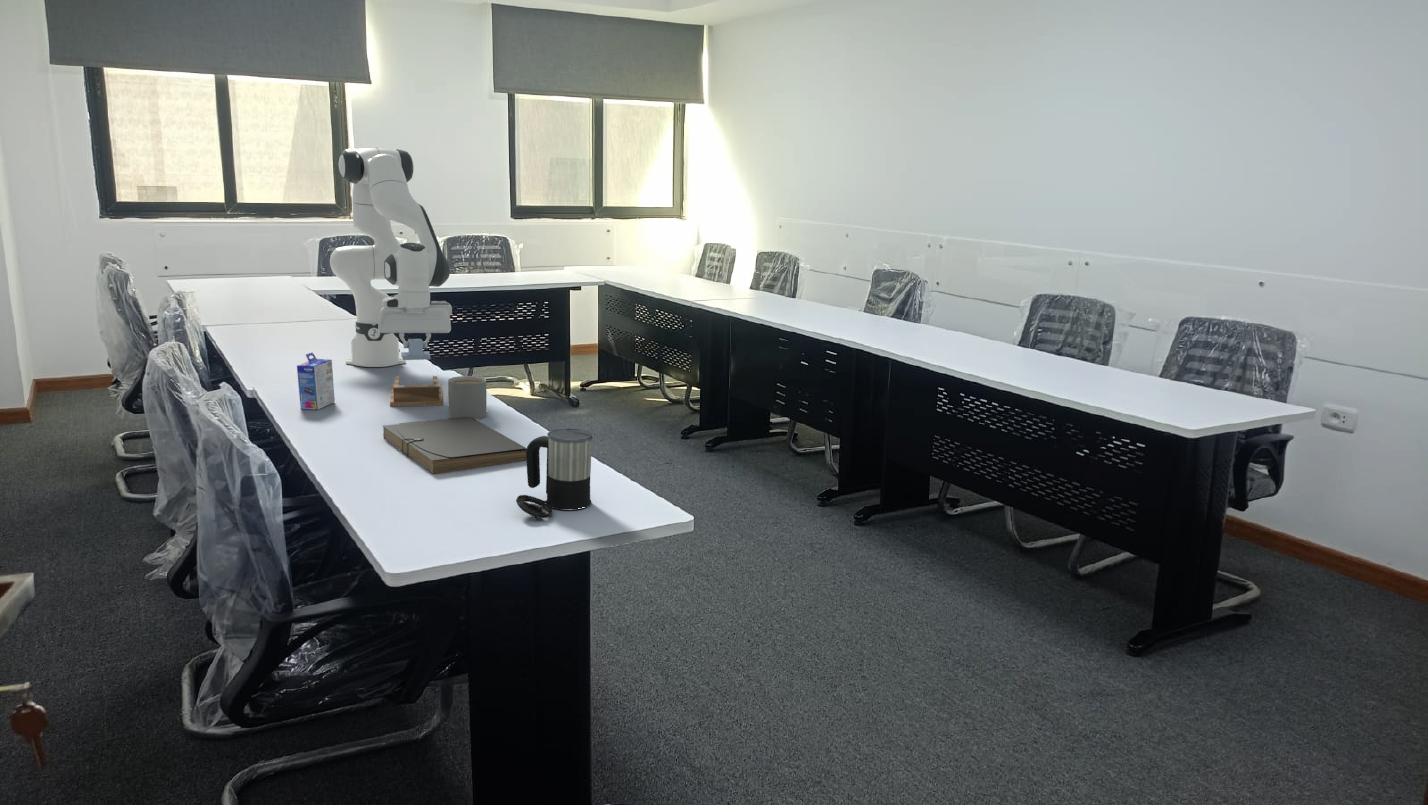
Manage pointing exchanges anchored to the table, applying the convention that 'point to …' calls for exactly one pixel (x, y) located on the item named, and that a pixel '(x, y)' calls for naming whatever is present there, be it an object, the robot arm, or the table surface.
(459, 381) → the coffee mug
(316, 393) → the ink cartridge box
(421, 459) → the file folder
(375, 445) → the table surface
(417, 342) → the grey flanged pedestal
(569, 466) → the milk frother
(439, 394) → the wooden tray
